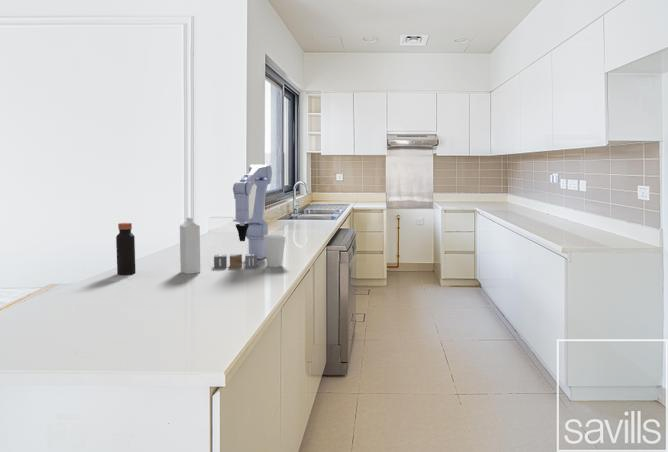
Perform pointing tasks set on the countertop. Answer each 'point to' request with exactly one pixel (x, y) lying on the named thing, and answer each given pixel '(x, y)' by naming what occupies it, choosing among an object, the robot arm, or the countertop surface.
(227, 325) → the countertop surface
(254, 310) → the countertop surface
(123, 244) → the bottle
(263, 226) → the robot arm
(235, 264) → the walnut block
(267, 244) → the foam cup
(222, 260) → the charcoal block
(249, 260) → the slate block
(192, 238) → the milk
